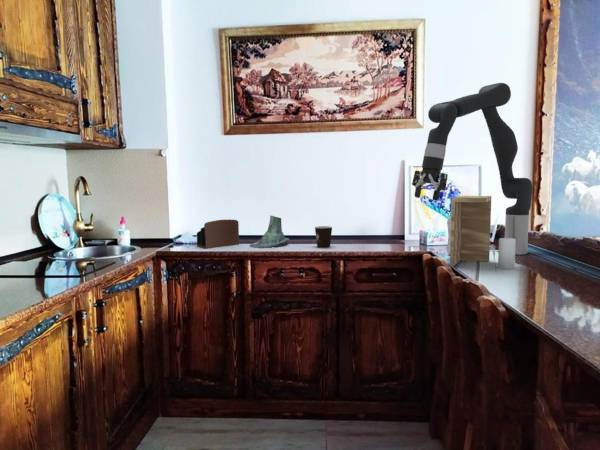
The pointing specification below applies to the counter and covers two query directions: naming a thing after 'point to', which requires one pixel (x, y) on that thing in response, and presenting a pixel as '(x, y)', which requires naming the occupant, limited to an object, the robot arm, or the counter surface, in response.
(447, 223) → the plastic bottle
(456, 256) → the cubby
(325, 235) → the coffee mug
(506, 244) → the white upright cylinder
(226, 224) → the letter holder
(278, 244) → the tree stump
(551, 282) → the counter surface
